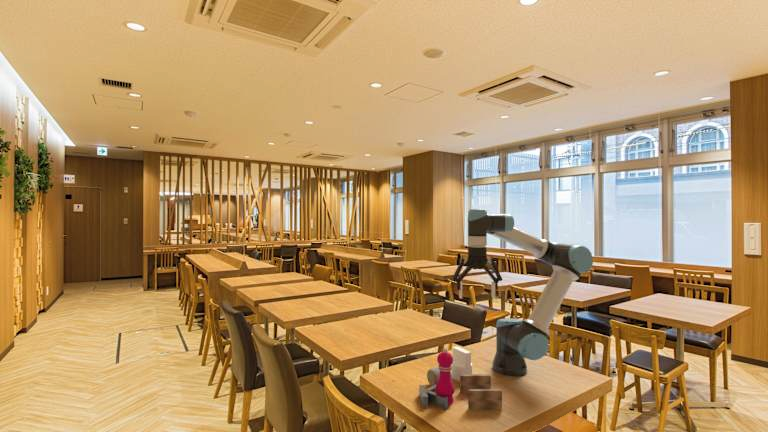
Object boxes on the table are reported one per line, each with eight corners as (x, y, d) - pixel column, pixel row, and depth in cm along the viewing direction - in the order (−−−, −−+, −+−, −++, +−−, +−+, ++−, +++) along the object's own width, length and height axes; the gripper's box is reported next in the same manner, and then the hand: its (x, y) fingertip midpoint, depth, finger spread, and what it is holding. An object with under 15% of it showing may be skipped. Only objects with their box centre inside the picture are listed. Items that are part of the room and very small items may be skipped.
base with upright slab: (447, 375, 175) (447, 348, 175) (462, 371, 179) (462, 345, 179) (460, 383, 167) (460, 354, 167) (476, 378, 171) (476, 351, 171)
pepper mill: (454, 406, 146) (454, 352, 146) (434, 404, 148) (434, 351, 148) (454, 397, 153) (454, 346, 153) (436, 395, 155) (436, 344, 155)
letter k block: (441, 392, 158) (441, 382, 158) (448, 409, 144) (448, 398, 144) (418, 393, 157) (418, 382, 157) (423, 410, 143) (423, 399, 143)
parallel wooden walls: (489, 391, 159) (489, 374, 159) (502, 409, 144) (502, 390, 144) (460, 391, 158) (460, 374, 158) (469, 410, 143) (469, 391, 143)
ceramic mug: (425, 383, 166) (425, 365, 166) (441, 379, 170) (441, 362, 170) (440, 394, 157) (440, 374, 157) (456, 390, 161) (457, 371, 160)
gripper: (504, 245, 167) (503, 295, 167) (445, 245, 166) (445, 296, 166) (510, 247, 160) (510, 299, 160) (448, 247, 159) (448, 299, 159)
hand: (477, 297), depth 163 cm, fingers open, 13 cm apart
